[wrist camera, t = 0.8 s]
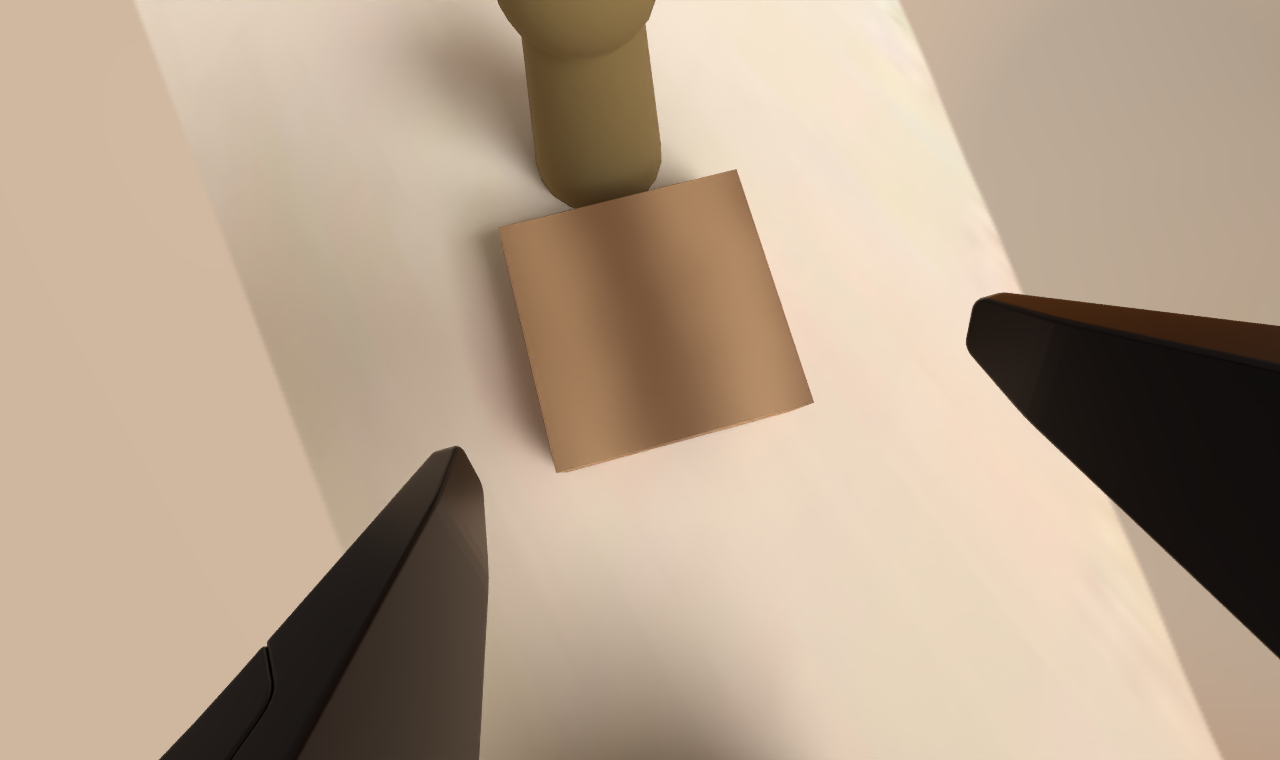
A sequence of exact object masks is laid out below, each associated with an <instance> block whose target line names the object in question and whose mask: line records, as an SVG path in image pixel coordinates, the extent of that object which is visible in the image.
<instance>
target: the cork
mask: <svg viewBox="0 0 1280 760" xmlns="http://www.w3.org/2000/svg"><path fill="white" fill-rule="evenodd" d="M497 1H498V4H499V6H500V8H501V9H502V11H503V13H504V14H505V16H506V18H507V19H508V21H509V22H510V23H511V24H512V26H513V27H514V28H515V29H516V31H517V32H518V33H519V34H520V35H521V37H522V44H523V52H524V61H525V70H526V78H527V87H528V96H529V104H530V113H531V121H532V130H533V139H534V147H535V156H536V164H537V167H538V170H539V173H540V176H541V179H542V181H543V183H544V184H545V185H546V186H547V188H548V189H549V190H550V192H551V193H552V194H553V195H554V196H555V197H557V198H558V199H560V200H561V201H563V202H564V203H566V204H567V205H569V206H570V207H574V208H581V207H585V206H589V205H593V204H597V203H601V202H605V201H609V200H614V199H618V198H622V197H626V196H630V195H634V194H638V193H642V192H646V191H647V190H648V189H649V188H650V186H651V185H652V184H653V182H654V181H655V180H656V177H657V174H658V171H659V168H660V165H661V142H660V135H659V127H658V119H657V111H656V103H655V96H654V88H653V80H652V72H651V64H650V57H649V49H648V41H647V33H646V26H645V23H646V22H647V21H648V20H649V17H650V14H651V11H652V9H653V6H654V3H655V0H497Z"/></svg>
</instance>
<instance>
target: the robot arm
mask: <svg viewBox="0 0 1280 760" xmlns="http://www.w3.org/2000/svg"><path fill="white" fill-rule="evenodd" d="M966 346H967V349H968V351H969V353H970V355H971V356H972V357H973V358H974V359H975V360H976V362H977V363H978V364H979V365H980V366H981V367H982V369H983V370H984V371H985V372H986V373H987V374H988V376H989V377H990V378H991V379H992V380H993V381H994V383H995V384H996V385H997V386H998V387H999V388H1000V389H1001V391H1002V392H1003V393H1004V394H1005V395H1006V396H1007V398H1008V399H1009V400H1010V401H1011V402H1012V403H1013V405H1014V406H1015V407H1016V408H1017V409H1018V410H1019V411H1020V412H1021V413H1022V415H1023V416H1024V417H1025V418H1026V419H1027V420H1028V421H1029V422H1030V423H1031V424H1032V425H1033V426H1034V427H1035V428H1036V429H1037V430H1038V431H1039V432H1040V433H1041V434H1043V435H1044V436H1045V437H1046V438H1047V439H1048V440H1049V441H1050V442H1051V443H1052V444H1053V445H1054V446H1055V447H1056V448H1057V449H1058V450H1059V451H1060V452H1062V453H1063V454H1064V455H1065V456H1066V457H1067V458H1068V459H1069V460H1070V461H1071V462H1072V463H1073V464H1074V465H1075V466H1076V467H1077V468H1078V469H1079V470H1080V471H1082V472H1083V473H1084V474H1085V475H1086V476H1087V477H1088V478H1089V479H1090V480H1091V481H1092V482H1093V483H1094V484H1095V485H1096V486H1097V487H1098V488H1099V489H1101V490H1102V491H1103V492H1104V493H1105V494H1106V495H1107V496H1108V497H1109V498H1110V499H1111V500H1112V501H1113V502H1114V503H1115V504H1116V505H1117V506H1118V507H1120V508H1121V509H1122V510H1123V511H1124V512H1125V513H1126V514H1127V515H1128V516H1129V517H1130V518H1131V519H1132V520H1133V521H1134V522H1135V523H1136V524H1137V525H1138V526H1140V527H1141V528H1142V529H1143V530H1144V531H1145V532H1146V533H1147V534H1148V535H1149V536H1150V537H1151V538H1152V539H1153V540H1154V541H1155V542H1157V543H1158V544H1159V545H1160V546H1161V547H1162V548H1163V549H1164V550H1165V551H1166V552H1167V553H1168V554H1169V555H1170V556H1171V557H1172V558H1173V559H1175V561H1176V562H1178V563H1179V564H1180V565H1181V566H1182V567H1183V568H1184V569H1185V570H1186V571H1187V572H1188V573H1189V574H1190V575H1191V576H1192V577H1193V578H1194V579H1195V580H1196V581H1198V582H1199V583H1200V584H1201V585H1202V586H1203V587H1204V588H1205V589H1206V590H1207V591H1208V592H1209V593H1210V594H1211V595H1212V596H1213V597H1214V598H1215V599H1217V600H1218V601H1219V602H1220V603H1221V604H1222V605H1223V606H1224V607H1225V608H1226V609H1227V610H1228V611H1229V612H1230V613H1232V615H1233V616H1234V617H1235V618H1237V619H1238V620H1239V621H1240V622H1241V623H1242V624H1243V625H1244V626H1245V627H1246V628H1247V629H1248V630H1249V631H1250V632H1251V633H1252V634H1253V635H1254V636H1256V637H1257V638H1258V639H1259V640H1260V641H1261V642H1262V643H1263V644H1264V645H1265V646H1266V647H1267V648H1268V649H1269V650H1270V651H1272V653H1273V654H1275V655H1276V656H1277V657H1278V658H1279V659H1280V326H1275V325H1267V324H1259V323H1250V322H1242V321H1233V320H1226V319H1217V318H1210V317H1201V316H1193V315H1185V314H1177V313H1169V312H1160V311H1152V310H1144V309H1136V308H1127V307H1120V306H1111V305H1103V304H1095V303H1087V302H1079V301H1070V300H1062V299H1053V298H1045V297H1037V296H1029V295H1021V294H1013V293H997V294H994V295H990V296H987V297H983V298H980V299H979V300H977V301H976V302H975V304H974V305H973V308H972V312H971V317H970V322H969V327H968V332H967V337H966ZM488 583H489V573H488V554H487V539H486V524H485V509H484V495H483V488H482V485H481V482H480V480H479V478H478V476H477V474H476V472H475V470H474V468H473V467H472V465H471V463H470V461H469V459H468V457H467V455H466V454H465V452H464V450H463V449H462V448H461V447H458V446H454V447H450V448H446V449H443V450H439V451H436V452H434V453H433V454H432V455H431V456H430V457H429V458H428V459H427V460H426V461H425V462H424V464H423V465H422V466H421V467H420V468H419V469H418V470H417V472H416V473H415V474H414V475H413V476H412V477H411V478H410V480H409V481H408V482H407V483H406V484H405V485H404V486H403V488H402V489H401V490H400V491H399V492H398V493H397V494H396V495H395V497H394V498H393V499H392V500H391V501H390V502H389V503H388V505H387V506H386V507H385V508H384V509H383V510H382V511H381V513H380V514H379V515H378V516H377V517H376V518H375V519H374V521H373V522H372V523H371V524H370V525H369V526H368V527H367V529H366V530H365V531H364V532H363V533H362V534H361V535H360V536H359V538H358V539H357V540H356V541H355V542H354V543H353V544H352V546H351V547H350V548H349V549H348V550H347V551H346V552H345V554H344V555H343V556H342V557H341V558H340V559H339V560H338V561H337V563H336V564H335V565H334V566H333V567H332V568H331V570H330V571H329V572H328V573H327V574H326V575H325V576H324V577H323V579H322V580H321V581H320V582H319V583H318V584H317V586H315V588H314V589H313V590H312V591H311V592H310V593H309V595H308V596H307V597H306V598H305V599H304V600H303V602H301V604H300V605H299V606H298V607H297V608H296V609H295V610H294V612H293V613H292V614H291V615H290V616H289V617H288V618H287V619H286V621H285V622H284V623H283V624H282V625H281V626H280V627H279V629H278V630H277V631H276V632H275V633H274V634H273V635H272V637H271V638H270V639H269V640H268V642H267V647H262V648H261V649H260V650H259V651H258V652H257V653H256V655H255V656H254V657H253V658H252V659H251V660H250V661H249V663H248V664H247V665H246V666H245V667H244V668H243V669H242V671H241V672H240V673H239V674H238V675H237V676H236V677H235V678H234V680H233V681H232V682H231V683H230V684H229V685H228V686H227V687H226V688H225V690H224V691H223V692H222V693H221V694H220V695H219V696H218V697H217V699H215V700H214V702H213V703H212V704H211V705H210V706H209V707H208V708H207V709H206V710H205V712H204V713H203V714H202V715H201V716H200V717H199V718H198V719H197V720H196V722H195V723H194V724H193V725H192V726H191V727H190V728H189V729H188V730H187V731H186V732H185V733H184V734H183V735H182V736H181V737H180V738H179V739H178V740H177V742H176V743H175V744H174V745H173V746H172V747H171V748H170V749H169V750H168V751H167V752H166V753H165V754H164V755H163V756H162V757H161V758H160V759H159V760H479V751H480V733H481V714H482V696H483V678H484V660H485V642H486V624H487V605H488Z"/></svg>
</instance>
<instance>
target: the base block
mask: <svg viewBox="0 0 1280 760" xmlns="http://www.w3.org/2000/svg"><path fill="white" fill-rule="evenodd" d="M498 230H499V234H500V238H501V242H502V247H503V251H504V255H505V259H506V264H507V268H508V272H509V276H510V280H511V285H512V289H513V293H514V297H515V301H516V306H517V310H518V314H519V318H520V323H521V327H522V331H523V335H524V339H525V344H526V348H527V352H528V356H529V361H530V365H531V369H532V373H533V377H534V382H535V386H536V390H537V394H538V398H539V403H540V407H541V411H542V415H543V420H544V424H545V428H546V432H547V436H548V441H549V445H550V449H551V453H552V458H553V462H554V466H555V470H556V473H560V472H569V471H573V470H577V469H580V468H584V467H588V466H591V465H595V464H599V463H602V462H606V461H610V460H613V459H617V458H621V457H624V456H628V455H632V454H635V453H639V452H643V451H646V450H650V449H654V448H657V447H661V446H665V445H668V444H672V443H676V442H679V441H683V440H687V439H690V438H694V437H698V436H701V435H705V434H709V433H712V432H716V431H720V430H723V429H727V428H731V427H734V426H738V425H742V424H745V423H749V422H753V421H756V420H760V419H764V418H767V417H771V416H775V415H778V414H782V413H786V412H789V411H792V410H795V409H798V408H800V407H803V406H806V405H809V404H811V403H814V401H813V398H812V395H811V392H810V389H809V386H808V383H807V380H806V377H805V374H804V371H803V368H802V365H801V362H800V359H799V356H798V353H797V350H796V347H795V344H794V341H793V338H792V335H791V332H790V329H789V326H788V323H787V320H786V317H785V314H784V311H783V308H782V305H781V302H780V299H779V296H778V293H777V290H776V287H775V284H774V281H773V278H772V275H771V272H770V269H769V266H768V263H767V260H766V257H765V254H764V251H763V248H762V245H761V242H760V239H759V236H758V233H757V230H756V227H755V224H754V221H753V218H752V215H751V212H750V209H749V206H748V203H747V200H746V197H745V194H744V191H743V188H742V185H741V182H740V179H739V176H738V173H737V170H732V171H728V172H724V173H719V174H715V175H711V176H707V177H703V178H699V179H695V180H691V181H687V182H683V183H679V184H675V185H671V186H666V187H662V188H658V189H654V190H650V191H646V192H642V193H638V194H634V195H630V196H626V197H622V198H618V199H614V200H609V201H605V202H601V203H597V204H593V205H589V206H585V207H581V208H577V209H573V210H569V211H565V212H561V213H557V214H552V215H548V216H544V217H540V218H536V219H532V220H528V221H524V222H520V223H516V224H512V225H508V226H504V227H500V228H498Z"/></svg>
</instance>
